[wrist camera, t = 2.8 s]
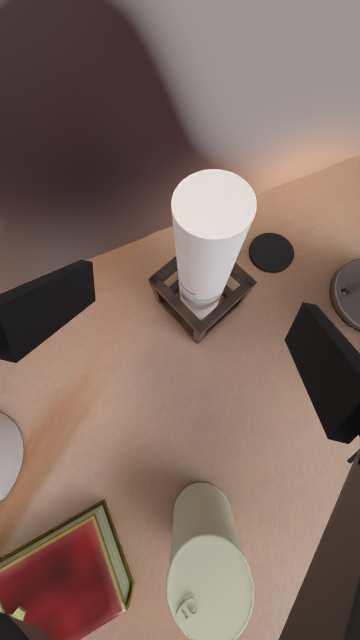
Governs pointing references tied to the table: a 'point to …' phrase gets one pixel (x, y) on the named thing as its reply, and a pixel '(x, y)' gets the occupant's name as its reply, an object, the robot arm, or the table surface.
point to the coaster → (271, 252)
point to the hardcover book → (68, 577)
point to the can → (207, 567)
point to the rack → (184, 314)
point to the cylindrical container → (209, 233)
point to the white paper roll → (9, 454)
